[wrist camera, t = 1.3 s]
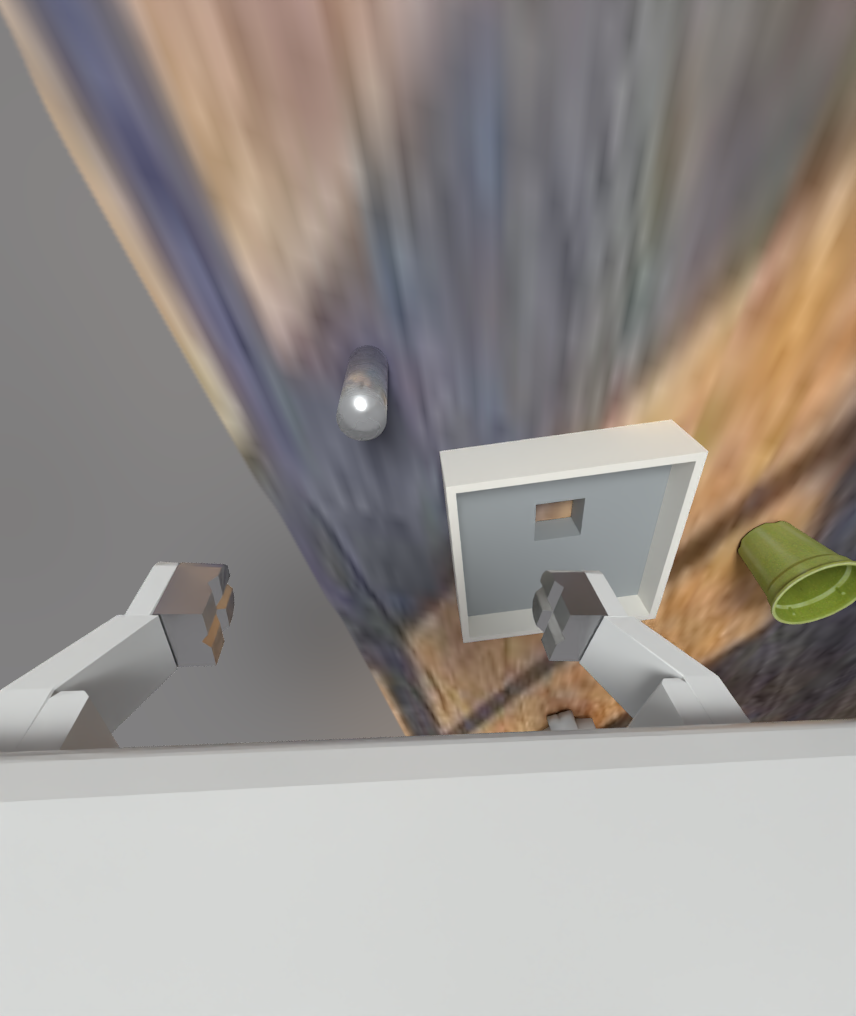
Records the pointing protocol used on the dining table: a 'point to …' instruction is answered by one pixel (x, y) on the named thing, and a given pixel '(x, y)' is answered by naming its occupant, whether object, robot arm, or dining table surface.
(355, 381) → the peg
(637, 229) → the dining table surface
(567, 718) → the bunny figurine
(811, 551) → the plant pot
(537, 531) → the box
